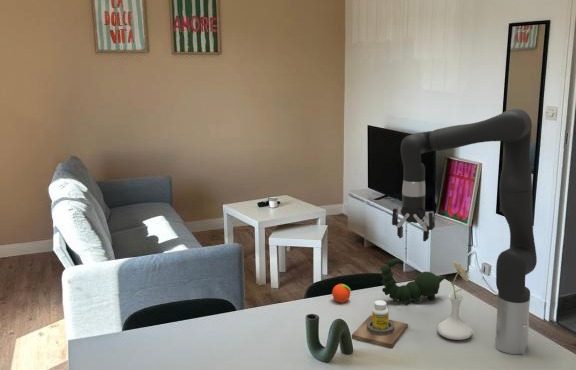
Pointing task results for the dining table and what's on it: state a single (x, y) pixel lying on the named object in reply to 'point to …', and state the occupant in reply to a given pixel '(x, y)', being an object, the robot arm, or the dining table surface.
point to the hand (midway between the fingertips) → (412, 239)
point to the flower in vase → (455, 313)
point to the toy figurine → (410, 285)
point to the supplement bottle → (380, 315)
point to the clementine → (341, 292)
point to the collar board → (380, 339)
